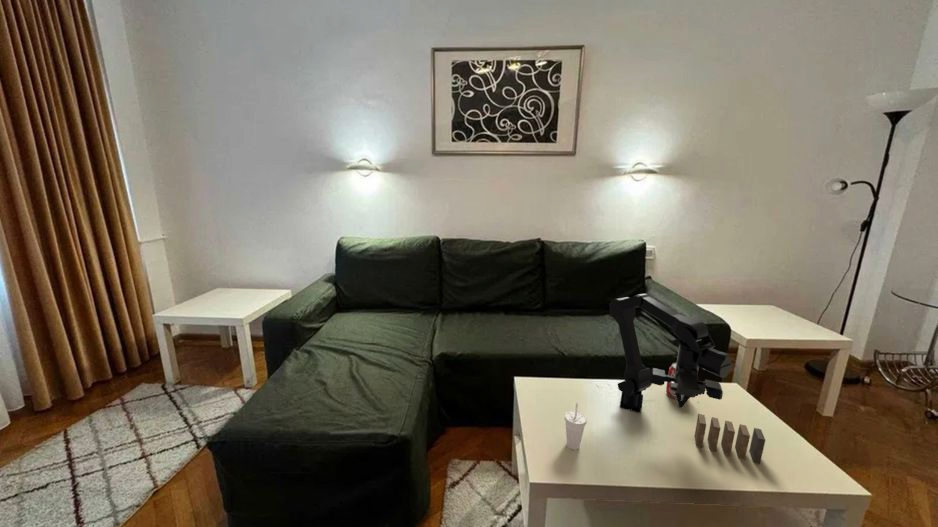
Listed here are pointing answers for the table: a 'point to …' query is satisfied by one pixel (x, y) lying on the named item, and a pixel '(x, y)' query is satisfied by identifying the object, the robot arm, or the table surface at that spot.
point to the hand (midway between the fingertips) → (680, 407)
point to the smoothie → (574, 428)
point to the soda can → (668, 390)
